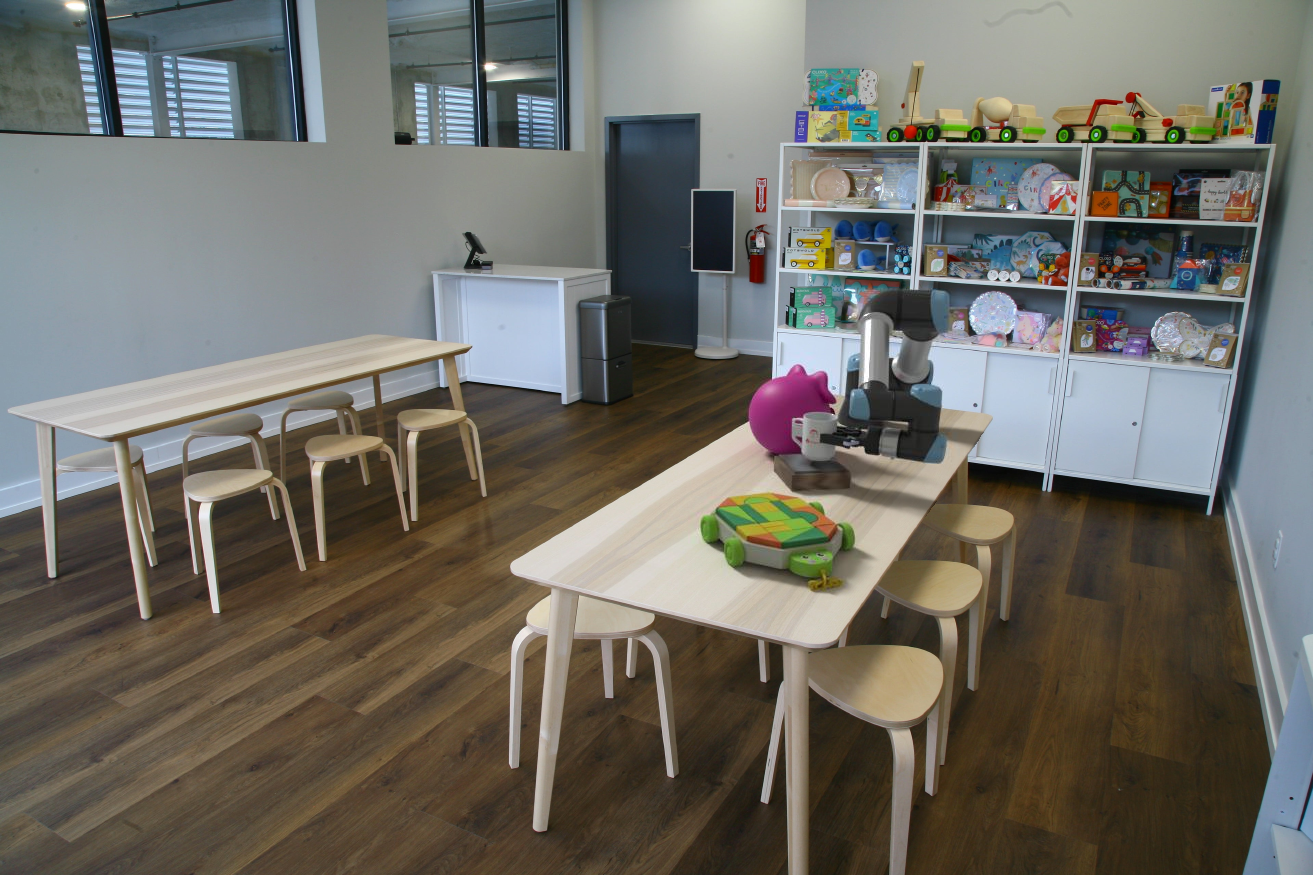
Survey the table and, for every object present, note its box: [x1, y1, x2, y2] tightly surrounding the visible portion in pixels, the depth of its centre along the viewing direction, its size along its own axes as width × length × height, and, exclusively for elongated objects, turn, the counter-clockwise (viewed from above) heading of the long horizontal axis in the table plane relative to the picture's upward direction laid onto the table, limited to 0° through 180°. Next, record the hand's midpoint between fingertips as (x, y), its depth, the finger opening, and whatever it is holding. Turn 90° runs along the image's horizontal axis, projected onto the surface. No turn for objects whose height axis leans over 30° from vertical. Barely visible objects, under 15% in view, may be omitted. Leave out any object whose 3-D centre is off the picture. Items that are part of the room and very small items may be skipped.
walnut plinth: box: [773, 454, 852, 492], centre depth 229 cm, size 16×16×5 cm
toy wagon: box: [699, 492, 856, 592], centre depth 184 cm, size 29×38×7 cm
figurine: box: [748, 363, 838, 455], centre depth 247 cm, size 23×24×25 cm
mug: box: [792, 412, 839, 461], centre depth 226 cm, size 12×9×11 cm
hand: (793, 429), depth 228 cm, fingers closed on mug
